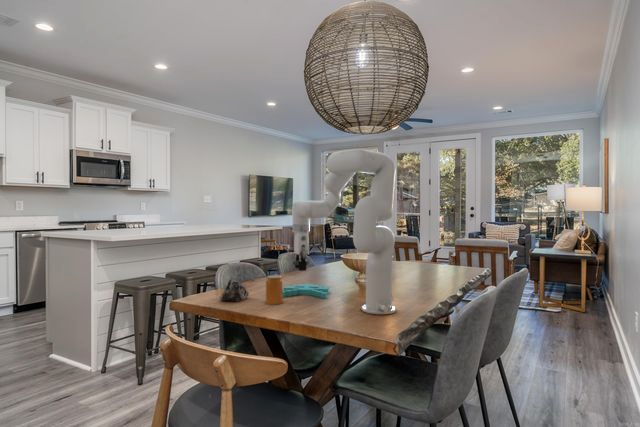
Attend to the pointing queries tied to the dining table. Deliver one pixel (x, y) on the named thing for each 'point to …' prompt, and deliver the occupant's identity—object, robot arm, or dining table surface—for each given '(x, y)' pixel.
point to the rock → (234, 291)
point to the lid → (296, 262)
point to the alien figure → (306, 290)
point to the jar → (274, 289)
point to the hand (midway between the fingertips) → (300, 268)
